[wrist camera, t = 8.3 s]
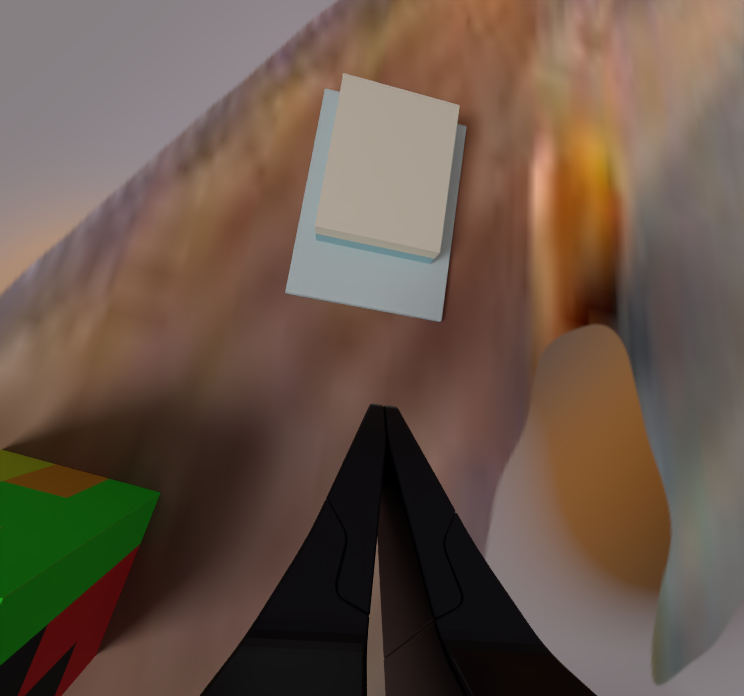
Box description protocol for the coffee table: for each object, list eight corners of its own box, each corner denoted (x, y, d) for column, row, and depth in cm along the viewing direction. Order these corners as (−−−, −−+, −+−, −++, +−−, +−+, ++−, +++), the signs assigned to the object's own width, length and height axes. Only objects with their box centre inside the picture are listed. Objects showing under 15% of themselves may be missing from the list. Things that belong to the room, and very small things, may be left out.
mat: (439, 321, 24) (441, 321, 24) (286, 293, 23) (285, 292, 22) (464, 130, 26) (466, 126, 26) (325, 92, 25) (325, 88, 24)
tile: (439, 252, 22) (459, 105, 23) (314, 226, 21) (343, 73, 22) (429, 264, 24) (448, 128, 26) (316, 240, 23) (342, 100, 24)
